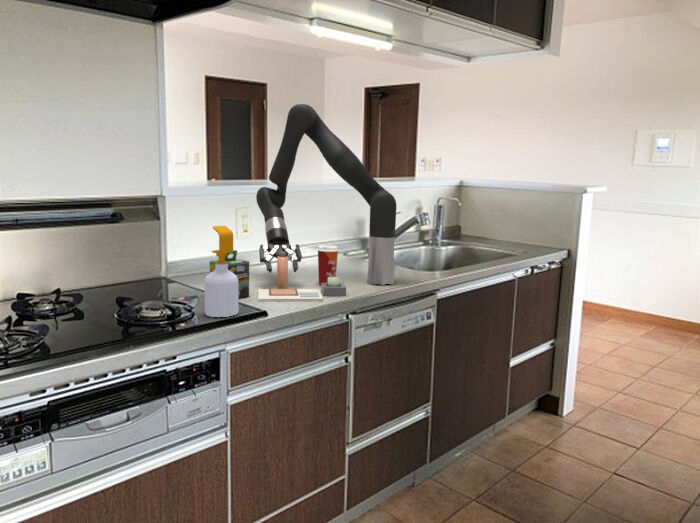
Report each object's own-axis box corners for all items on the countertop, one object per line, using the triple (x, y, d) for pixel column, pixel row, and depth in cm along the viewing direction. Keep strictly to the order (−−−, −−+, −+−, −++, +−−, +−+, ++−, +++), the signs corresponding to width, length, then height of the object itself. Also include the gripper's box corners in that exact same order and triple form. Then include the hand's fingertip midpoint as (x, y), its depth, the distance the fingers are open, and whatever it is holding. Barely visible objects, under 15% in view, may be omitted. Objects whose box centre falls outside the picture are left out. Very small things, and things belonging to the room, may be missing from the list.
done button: (338, 288, 191) (339, 276, 190) (340, 290, 187) (340, 278, 186) (326, 288, 190) (327, 276, 190) (328, 290, 186) (328, 278, 186)
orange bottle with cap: (287, 287, 197) (287, 251, 195) (287, 289, 194) (288, 252, 192) (276, 287, 197) (277, 251, 194) (277, 289, 193) (277, 252, 191)
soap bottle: (227, 308, 165) (227, 224, 161) (244, 315, 159) (244, 227, 155) (199, 313, 160) (198, 225, 156) (215, 320, 153) (214, 228, 149)
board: (318, 291, 192) (318, 288, 192) (323, 301, 178) (323, 297, 178) (258, 291, 189) (258, 288, 189) (258, 301, 175) (258, 298, 175)
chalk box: (231, 292, 187) (231, 247, 185) (250, 296, 181) (250, 250, 179) (208, 296, 180) (208, 249, 178) (227, 301, 174) (227, 253, 172)
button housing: (342, 291, 193) (343, 282, 193) (346, 296, 186) (346, 287, 185) (321, 291, 192) (321, 282, 191) (323, 296, 185) (323, 287, 184)
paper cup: (333, 288, 198) (334, 248, 195) (312, 286, 200) (313, 246, 198) (341, 284, 205) (342, 245, 202) (321, 282, 207) (322, 244, 205)
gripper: (258, 226, 196) (263, 265, 188) (298, 226, 201) (305, 264, 192) (255, 239, 202) (260, 277, 193) (294, 239, 207) (301, 276, 198)
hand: (283, 271), depth 193 cm, fingers open, 8 cm apart
